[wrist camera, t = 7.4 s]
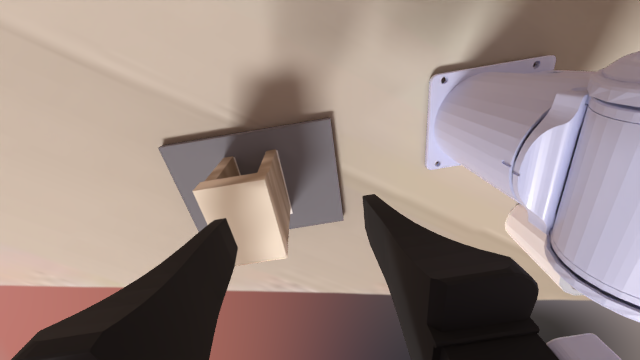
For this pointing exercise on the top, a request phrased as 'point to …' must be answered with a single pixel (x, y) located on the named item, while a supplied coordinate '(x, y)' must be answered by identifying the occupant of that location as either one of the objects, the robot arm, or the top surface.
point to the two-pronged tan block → (249, 208)
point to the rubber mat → (248, 152)
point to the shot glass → (533, 244)
